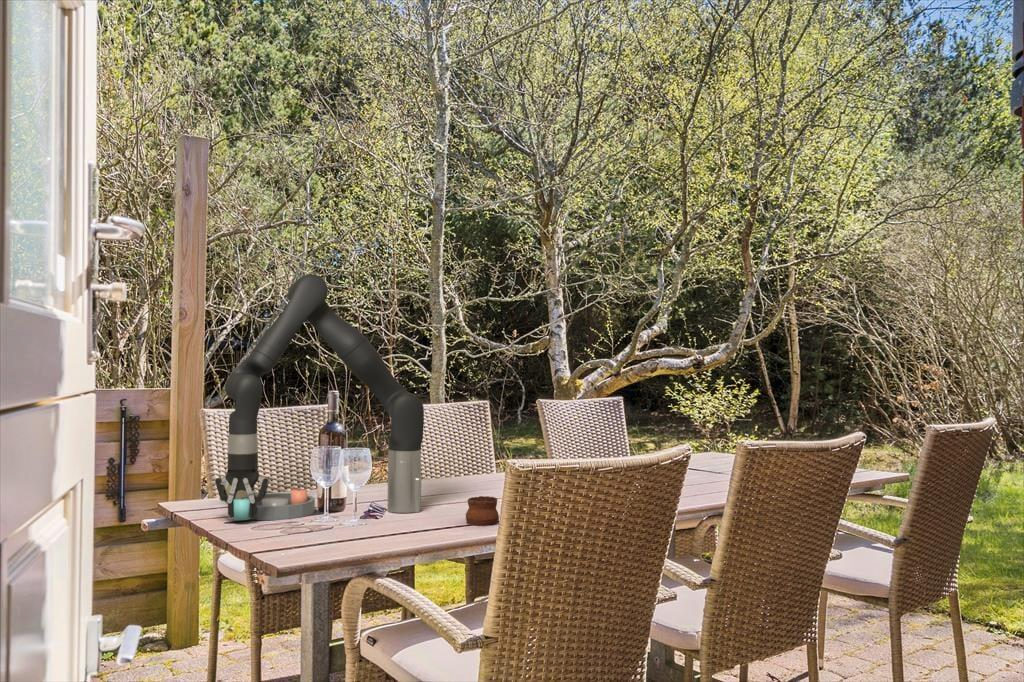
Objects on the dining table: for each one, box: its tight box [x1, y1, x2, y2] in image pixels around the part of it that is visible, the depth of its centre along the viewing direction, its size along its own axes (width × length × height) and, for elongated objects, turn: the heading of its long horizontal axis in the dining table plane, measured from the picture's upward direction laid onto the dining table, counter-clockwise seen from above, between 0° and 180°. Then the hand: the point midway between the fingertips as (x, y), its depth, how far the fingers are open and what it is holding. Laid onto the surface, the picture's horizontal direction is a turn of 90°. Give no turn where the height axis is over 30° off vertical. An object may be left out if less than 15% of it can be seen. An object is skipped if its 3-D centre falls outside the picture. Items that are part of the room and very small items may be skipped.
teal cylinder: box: [232, 498, 252, 521], centre depth 223 cm, size 4×4×5 cm
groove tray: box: [240, 492, 316, 521], centre depth 238 cm, size 21×21×4 cm
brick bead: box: [290, 488, 308, 505], centre depth 238 cm, size 4×4×5 cm
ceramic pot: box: [465, 495, 500, 527], centre depth 229 cm, size 18×18×7 cm
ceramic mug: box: [224, 480, 257, 498], centre depth 254 cm, size 11×8×8 cm
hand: (242, 516), depth 223 cm, fingers closed on teal cylinder, 4 cm apart
